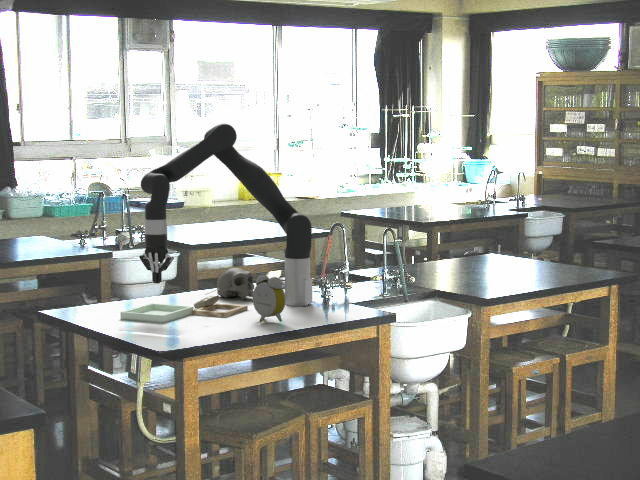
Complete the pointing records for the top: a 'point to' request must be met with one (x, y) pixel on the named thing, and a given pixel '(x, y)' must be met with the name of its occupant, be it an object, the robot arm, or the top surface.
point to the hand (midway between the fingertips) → (156, 283)
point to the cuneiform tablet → (207, 301)
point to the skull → (235, 283)
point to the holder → (234, 308)
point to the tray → (156, 313)
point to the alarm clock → (269, 297)
